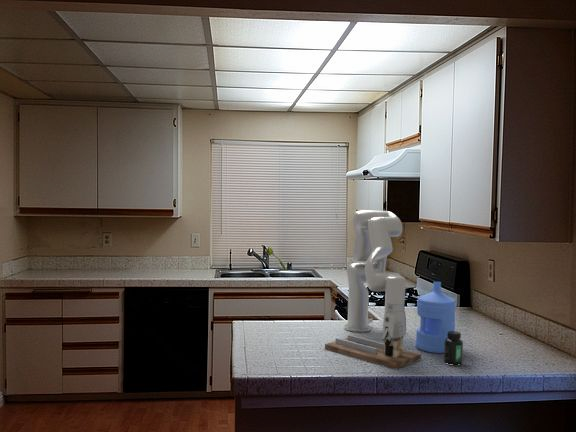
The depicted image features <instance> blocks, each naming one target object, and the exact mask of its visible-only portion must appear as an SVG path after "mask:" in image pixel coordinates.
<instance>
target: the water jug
mask: <svg viewBox="0 0 576 432" xmlns="http://www.w3.org/2000/svg"><path fill="white" fill-rule="evenodd" d="M441 284H442V282H441V281H433V286H432V291H430V292H429V293H426V294H424V295H421V296H419V297H417V301H416V302H417V303H416V308H417V309H416V310H417V311H416V312H417V313H416V314H417V316H419V317H420V325H419V327H418V328H417V329H416V332H415V334H416V335H415V336H416V338H415V347H416V348H418V349H419V350H420V351H423V352H426V351H427V353H431V352H433V353H432V354H444V343H445V339H447V338H448V337H447V335H448V331H456V310H457V309H456V308H457V305H456V300H455V299H454V298H452V297H451V296H449V295H447V294H445V293H444V292H442V291H441V289H442V285H441Z"/></svg>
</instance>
